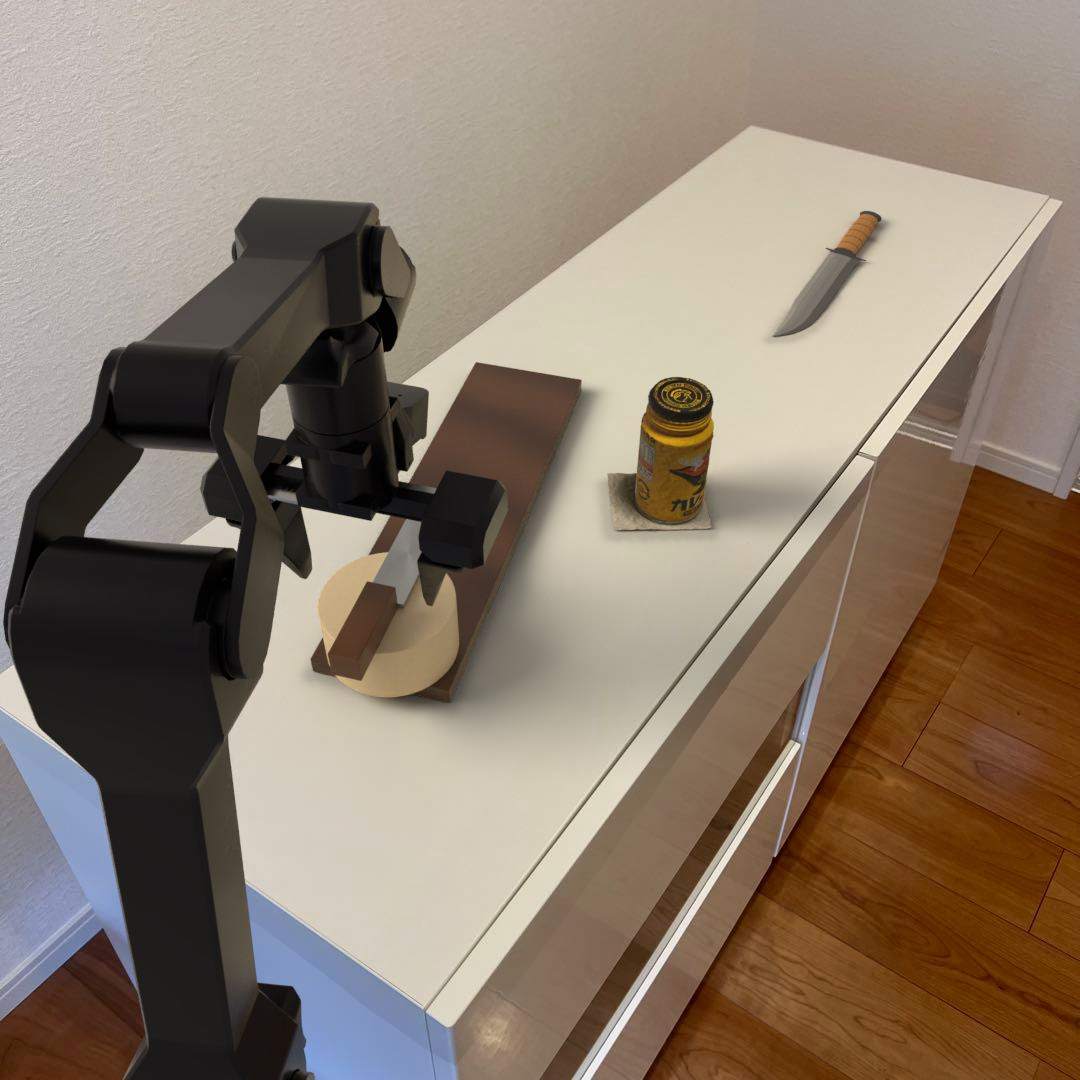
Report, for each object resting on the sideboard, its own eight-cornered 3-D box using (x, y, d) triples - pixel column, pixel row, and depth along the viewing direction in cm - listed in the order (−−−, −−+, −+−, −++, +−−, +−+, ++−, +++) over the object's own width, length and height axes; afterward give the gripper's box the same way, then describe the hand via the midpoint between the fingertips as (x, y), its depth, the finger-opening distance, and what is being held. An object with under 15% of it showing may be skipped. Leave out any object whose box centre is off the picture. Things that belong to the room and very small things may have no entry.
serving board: (450, 703, 80) (449, 691, 78) (312, 671, 82) (309, 659, 81) (581, 391, 107) (581, 379, 106) (476, 373, 109) (475, 361, 108)
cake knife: (367, 683, 73) (363, 662, 71) (325, 673, 73) (321, 652, 72) (449, 517, 84) (447, 496, 83) (413, 510, 85) (410, 489, 83)
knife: (807, 343, 113) (763, 328, 114) (805, 353, 113) (761, 337, 115) (895, 216, 131) (856, 204, 132) (892, 225, 132) (853, 213, 133)
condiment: (711, 529, 93) (729, 419, 85) (613, 531, 93) (622, 421, 84) (699, 474, 98) (715, 365, 90) (606, 476, 98) (614, 366, 90)
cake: (433, 711, 77) (428, 665, 74) (304, 680, 79) (294, 635, 76) (476, 611, 84) (474, 565, 81) (357, 585, 86) (349, 539, 82)
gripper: (531, 354, 67) (531, 534, 78) (256, 308, 70) (293, 487, 81) (476, 466, 59) (485, 649, 70) (170, 409, 63) (224, 592, 73)
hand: (368, 587), depth 74 cm, fingers open, 9 cm apart
